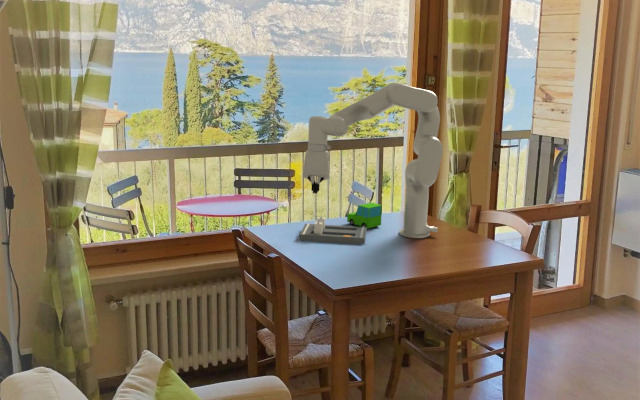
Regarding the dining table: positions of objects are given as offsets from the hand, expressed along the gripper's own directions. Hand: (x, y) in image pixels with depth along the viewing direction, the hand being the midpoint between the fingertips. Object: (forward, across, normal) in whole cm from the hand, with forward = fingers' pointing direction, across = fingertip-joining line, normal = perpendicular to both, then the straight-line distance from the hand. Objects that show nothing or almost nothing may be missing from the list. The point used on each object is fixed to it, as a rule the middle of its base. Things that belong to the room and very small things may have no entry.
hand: (315, 192), depth 257 cm
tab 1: (+17, -2, -5) cm, 18 cm away
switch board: (+18, -8, -1) cm, 20 cm away
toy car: (+18, -19, -20) cm, 33 cm away
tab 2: (+17, -2, +3) cm, 17 cm away
